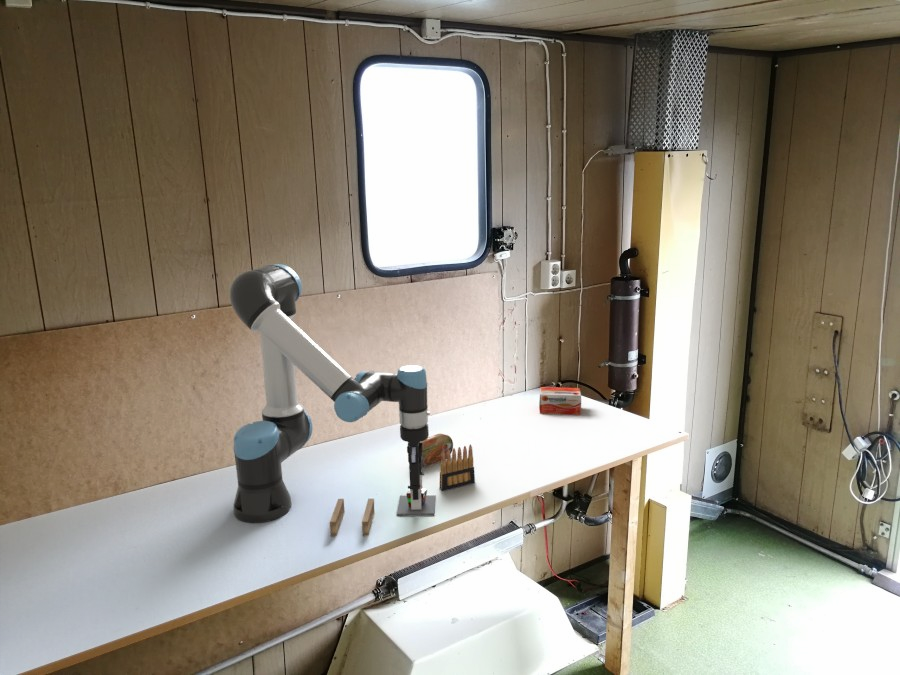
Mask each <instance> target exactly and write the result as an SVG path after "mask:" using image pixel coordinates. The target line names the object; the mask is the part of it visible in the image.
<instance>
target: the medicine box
mask: <svg viewBox="0 0 900 675" xmlns="http://www.w3.org/2000/svg"><path fill="white" fill-rule="evenodd" d="M539 391H540V392H539V406H538V408H539V414H540V415H560V416H561V415H563V416H564V415H565V416H580V415H581V412H582V393H581V388H579V387H557V386H556V387H551V386H548V387H547V386H541V387H540V390H539Z"/></svg>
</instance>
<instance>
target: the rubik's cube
mask: <svg viewBox="0 0 900 675" xmlns="http://www.w3.org/2000/svg"><path fill="white" fill-rule="evenodd" d="M427 493H428V489H426V488H425V487H424V488H423V487H422V488H421V507H422V506H423V505H424V503H425V500H426V495H428V494H427ZM405 496H407V499H408V504H409V507H411V490H410V489H409V490H408V491H407V492H406V494H405Z"/></svg>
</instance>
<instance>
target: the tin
mask: <svg viewBox="0 0 900 675" xmlns="http://www.w3.org/2000/svg"><path fill="white" fill-rule="evenodd" d="M421 442H423V448H422V456H421V458H422V468H427V467H430V466H432V465H435V464H438V463H441V454H442V451H444V453H445V461H446V459H447V451H448V449H449V451H450V455H452V451H453V448H454V442H453V439H452V438H451V437H450V435H448V434H444V433H437V434H434V435H431V436H428V438H427V439H426V440H424V441H421Z"/></svg>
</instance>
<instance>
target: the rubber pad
mask: <svg viewBox="0 0 900 675" xmlns="http://www.w3.org/2000/svg"><path fill="white" fill-rule="evenodd" d="M436 498H437V496H436V494H435V495H428V494H426V500H425V503H424V505H423V506H422V509H421V510H411V507H409V504H408V499H407V495H400V496H399V500H398V503H397V510H396V516H400V517H401V516H403V517H404V516H405V517H406V516H411V517H412V516H421V517H423V516H435V512H436V502H437V501H436Z"/></svg>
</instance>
